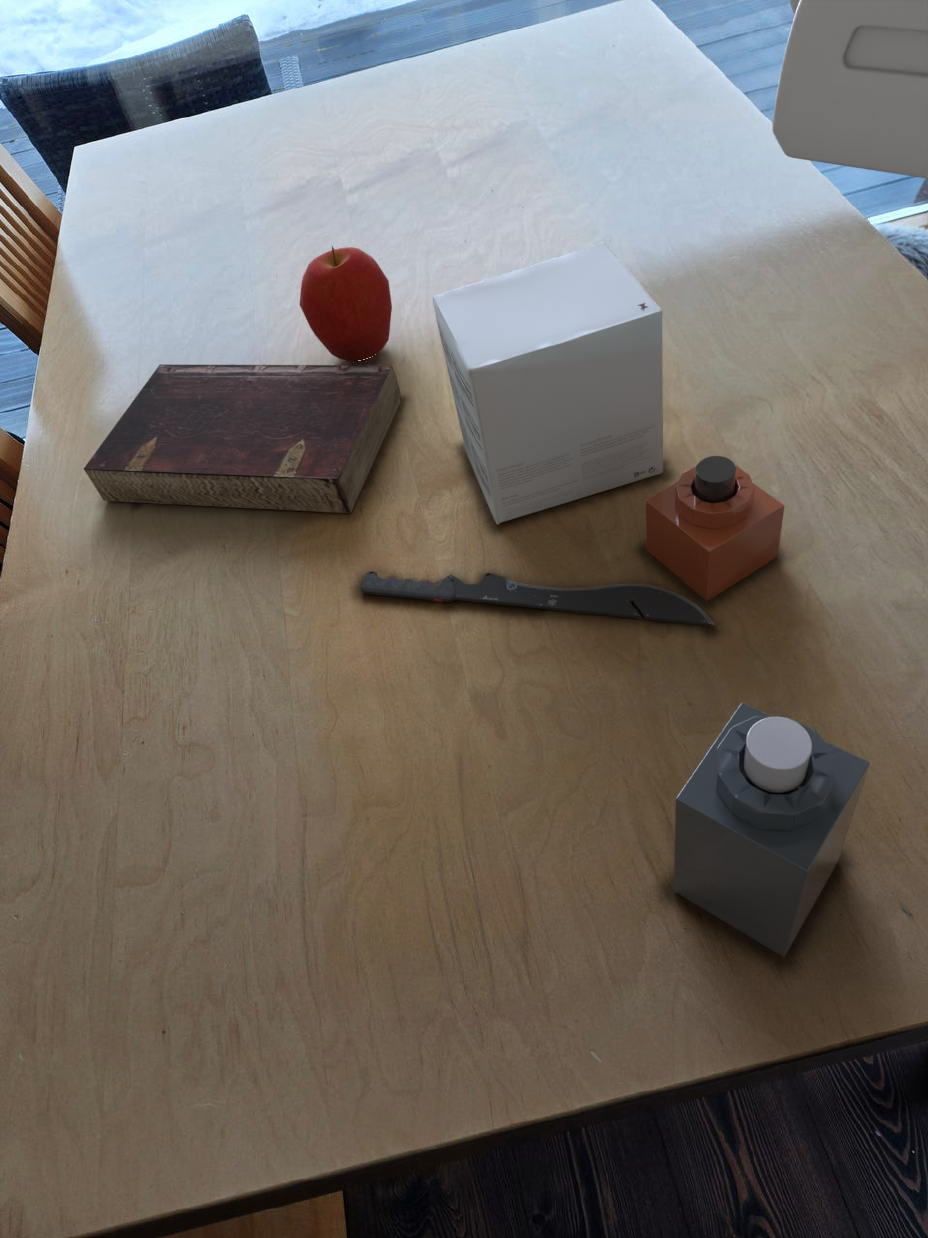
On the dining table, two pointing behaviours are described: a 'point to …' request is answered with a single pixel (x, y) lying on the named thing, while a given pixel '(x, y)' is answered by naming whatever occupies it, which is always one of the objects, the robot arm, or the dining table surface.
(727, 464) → the dark grey cylinder
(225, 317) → the dining table surface
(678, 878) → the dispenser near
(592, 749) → the dining table surface
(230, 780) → the dining table surface
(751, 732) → the cylinder
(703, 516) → the button base
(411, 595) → the knife
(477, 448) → the supplement box
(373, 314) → the apple
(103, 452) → the book
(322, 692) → the dining table surface
